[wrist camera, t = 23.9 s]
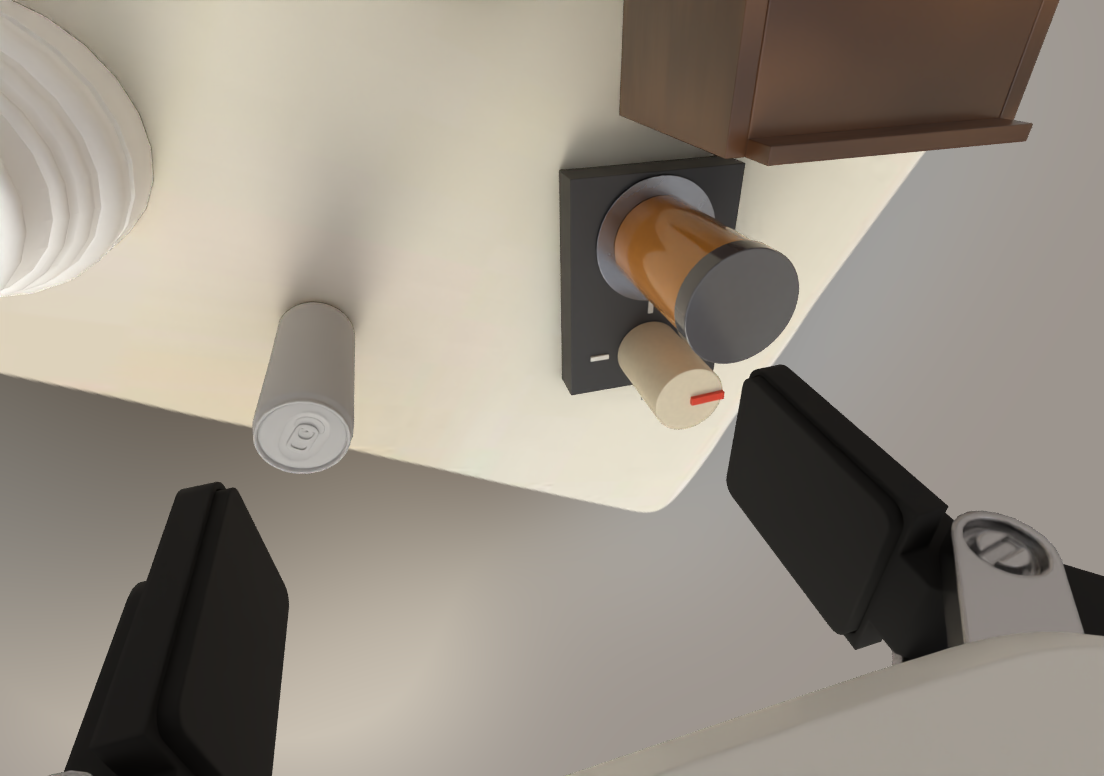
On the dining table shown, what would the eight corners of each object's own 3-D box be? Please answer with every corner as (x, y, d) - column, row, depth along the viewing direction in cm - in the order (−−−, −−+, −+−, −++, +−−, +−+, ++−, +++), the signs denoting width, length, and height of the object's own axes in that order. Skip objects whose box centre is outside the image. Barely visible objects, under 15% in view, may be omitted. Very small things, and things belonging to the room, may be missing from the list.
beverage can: (367, 318, 39) (370, 420, 30) (335, 373, 41) (327, 487, 31) (296, 285, 37) (274, 384, 27) (265, 345, 38) (233, 458, 29)
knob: (617, 382, 45) (656, 439, 39) (617, 327, 42) (658, 379, 36) (674, 370, 46) (721, 423, 40) (678, 315, 43) (728, 364, 37)
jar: (612, 196, 37) (692, 256, 28) (708, 187, 38) (811, 240, 29) (609, 293, 40) (678, 373, 31) (696, 281, 42) (785, 354, 33)
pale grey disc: (596, 180, 36) (598, 181, 36) (721, 168, 38) (724, 169, 38) (593, 306, 41) (595, 308, 40) (705, 290, 43) (707, 292, 42)
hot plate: (558, 170, 38) (570, 180, 35) (726, 155, 40) (747, 163, 38) (562, 394, 47) (571, 412, 45) (696, 370, 50) (712, 387, 48)
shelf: (626, -89, 31) (796, -149, 19) (878, -87, 35) (1158, -137, 22) (619, 115, 37) (746, 168, 25) (836, 100, 40) (1043, 139, 28)
